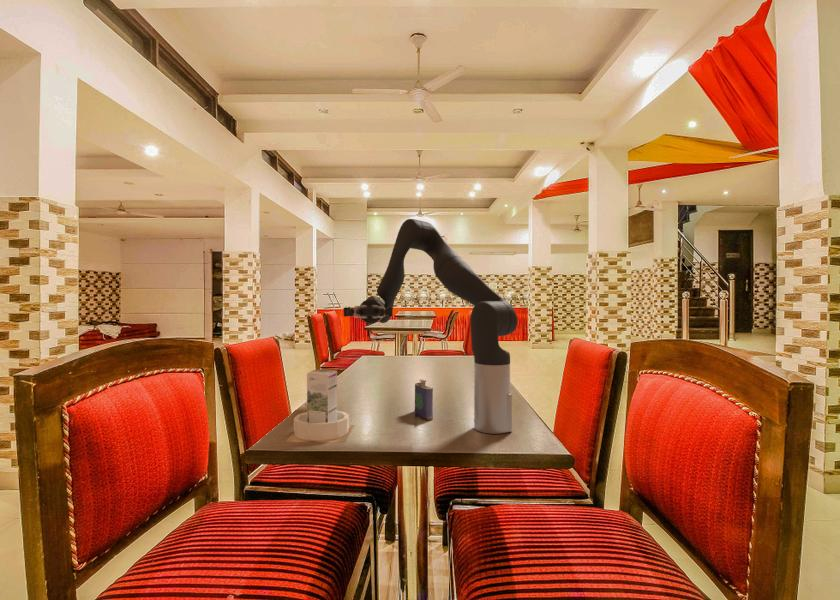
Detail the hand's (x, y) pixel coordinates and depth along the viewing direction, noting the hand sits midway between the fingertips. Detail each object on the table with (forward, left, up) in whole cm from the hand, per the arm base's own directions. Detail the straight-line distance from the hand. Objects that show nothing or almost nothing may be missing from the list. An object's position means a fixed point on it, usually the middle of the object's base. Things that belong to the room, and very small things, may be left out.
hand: (365, 312), depth 124 cm
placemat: (+9, +14, -30) cm, 34 cm away
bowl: (+9, +14, -29) cm, 34 cm away
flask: (-16, -4, -30) cm, 34 cm away
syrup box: (+9, +14, -29) cm, 33 cm away
